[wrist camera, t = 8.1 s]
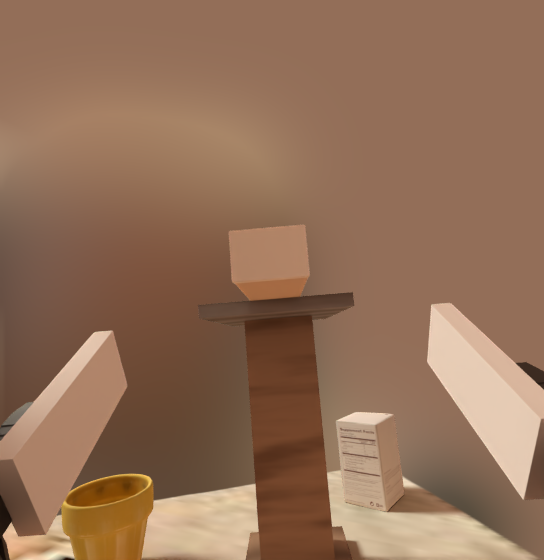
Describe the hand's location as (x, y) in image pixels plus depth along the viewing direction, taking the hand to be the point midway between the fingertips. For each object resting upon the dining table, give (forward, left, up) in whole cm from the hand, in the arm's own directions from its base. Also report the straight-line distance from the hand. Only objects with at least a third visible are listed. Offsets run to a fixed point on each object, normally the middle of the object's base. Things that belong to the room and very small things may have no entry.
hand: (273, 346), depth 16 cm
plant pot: (+24, +33, -26) cm, 49 cm away
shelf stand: (+28, +10, -26) cm, 40 cm away
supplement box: (+51, +5, -26) cm, 58 cm away
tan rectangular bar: (+22, +8, +4) cm, 23 cm away
